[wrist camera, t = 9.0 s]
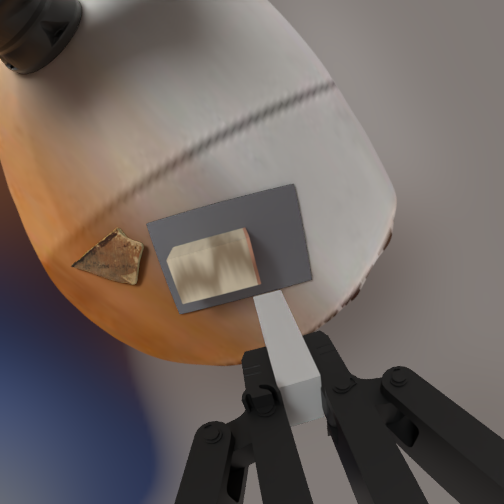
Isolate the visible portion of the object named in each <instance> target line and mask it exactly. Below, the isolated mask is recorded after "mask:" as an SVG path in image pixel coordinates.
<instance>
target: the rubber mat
mask: <svg viewBox="0 0 504 504" xmlns="http://www.w3.org/2000/svg"><path fill="white" fill-rule="evenodd" d="M146 225H147V228H148V231H149V234H150V237H151V240H152V243H153V245H154V248H155V251H156V254H157V257H158V260H159V262H160V265H161V268H162V271H163V273H164V276H165V278H166V281H167V284H168V286H169V289H170V291H171V294H172V296H173V299H174V301H175V304H176V306H177V309H178V311H179V314H183V313H188V312H192V311H196V310H200V309H204V308H208V307H212V306H216V305H220V304H224V303H228V302H232V301H236V300H240V299H243V298H247V297H251V296H255V295H258V294H262V293H266V292H269V291H273V290H277V289H280V288H284V287H287V286H291V285H294V284H298V283H301V282H305V281H308V280H312V276H311V270H310V264H309V258H308V253H307V247H306V242H305V236H304V231H303V225H302V220H301V215H300V210H299V205H298V200H297V195H296V190H295V186H294V184H291V185H286V186H282V187H278V188H274V189H269V190H265V191H261V192H257V193H253V194H249V195H245V196H241V197H237V198H234V199H230V200H226V201H222V202H219V203H215V204H211V205H208V206H204V207H201V208H197V209H194V210H190V211H187V212H183V213H180V214H176V215H173V216H170V217H166V218H163V219H160V220H157V221H153V222H150V223H147V224H146ZM241 228H246V230H247V233H248V235H249V238H250V242H251V245H252V249H253V253H254V257H255V261H256V265H257V269H258V273H259V277H260V281H261V284H259V285H255V286H252V287H248V288H244V289H241V290H237V291H233V292H229V293H225V294H221V295H217V296H214V297H210V298H206V299H202V300H198V301H194V302H190V303H186V304H183V303H182V301H181V298H180V296H179V293H178V290H177V288H176V285H175V283H174V280H173V277H172V274H171V272H170V269H169V266H168V263H167V261H166V260H167V258H168V256H169V254H170V252H171V250H172V248H173V247H176V246H179V245H183V244H186V243H190V242H193V241H197V240H201V239H204V238H208V237H212V236H215V235H219V234H223V233H226V232H230V231H234V230H237V229H241Z"/></svg>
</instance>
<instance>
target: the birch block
mask: <svg viewBox="0 0 504 504" xmlns="http://www.w3.org/2000/svg"><path fill="white" fill-rule="evenodd" d="M166 261H167V263H168V266H169V269H170V272H171V274H172V277H173V280H174V283H175V285H176V288H177V290H178V293H179V296H180V298H181V301H182V303H183V304H186V303H190V302H194V301H198V300H202V299H206V298H210V297H214V296H217V295H221V294H225V293H229V292H233V291H237V290H241V289H244V288H248V287H252V286H255V285H259V284H261V281H260V277H259V273H258V269H257V265H256V261H255V257H254V253H253V249H252V245H251V242H250V238H249V235H248V233H247V230H246V228H241V229H237V230H234V231H230V232H226V233H223V234H219V235H215V236H212V237H208V238H204V239H201V240H197V241H193V242H190V243H186V244H183V245H179V246H176V247H173V248H172V250H171V252H170V254H169V256H168V258H167V260H166Z"/></svg>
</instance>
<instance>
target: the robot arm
mask: <svg viewBox="0 0 504 504" xmlns="http://www.w3.org/2000/svg"><path fill="white" fill-rule="evenodd" d="M81 12H82V10H81V5H80V2H79V1H78V0H0V59H1V60H2V62H3V63H4V64H5V65H6V66H7V67H8V68H9V69H10V70H12V71H14V72H17V73H21V74H28V73H32V72H35V71H37V70H39V69H41V68H42V67H44V66H45V65H47V64H48V63H49V62H51V61H52V60H53V59H54V58H55V57H56V56H57V55H58V54H59V53H60V52H61V51H62V50H63V49H64V47H65V46H66V45H67V44H68V42H69V41H70V39H71V38H72V36H73V35H74V33H75V31H76V29H77V27H78V25H79V22H80V18H81ZM253 299H254V302H255V306H256V310H257V314H258V318H259V322H260V326H261V330H262V334H263V337H264V341H265V345H266V347H262V348H258V349H254V350H250V351H246V352H245V353H244V355H243V358H242V360H241V361H242V368H243V374H244V381H245V388H246V390H245V391H244V393H243V395H242V402H243V404H244V407H245V409H246V410H245V412H244V413H243V414H242V415H241V416H240V417H238V418H237V419H235V420H233V421H231V422H229V423H227V424H225V423H223V422H218V421H213V422H208V423H206V424H204V425H202V426H201V427H200V428H199V429H198V430H197V432H196V434H195V436H194V440H193V443H192V446H191V450H190V453H189V457H188V460H187V463H186V467H185V470H184V474H183V477H182V481H181V483H180V487H179V490H178V494H177V497H176V500H175V504H243V500H244V494H245V487H246V481H247V474H248V467H249V465H250V464H252V463H254V462H256V468H257V474H258V479H259V485H260V490H261V495H262V501H263V504H313V501H312V498H311V495H310V491H309V488H308V485H307V481H306V478H305V475H304V472H303V468H302V465H301V461H300V458H299V454H298V451H297V448H296V444H295V441H294V438H293V434H292V431H291V427H292V426H296V425H299V424H303V423H306V422H309V421H313V420H316V419H319V418H322V417H324V414H325V416H326V418H327V430H328V436H330V435H331V437H332V440H333V442H334V445H335V447H336V450H337V452H338V455H339V457H340V460H341V462H342V465H343V467H344V470H345V472H346V475H347V477H348V480H349V482H350V485H351V487H352V490H353V493H354V495H355V497H356V500H357V502H358V504H428V502H427V500H426V498H425V496H424V494H423V492H422V490H421V489H420V487H419V485H418V483H417V481H416V479H415V477H414V475H413V474H412V472H411V470H410V468H409V466H408V464H407V463H406V461H405V459H404V457H403V455H402V454H401V452H400V450H399V448H398V446H397V445H396V443H397V444H398V445H399V446H400V447H401V448H402V449H403V450H404V451H405V452H406V453H407V454H408V455H409V456H410V457H411V458H412V459H413V460H414V461H415V462H416V463H417V464H418V465H419V466H421V468H422V469H423V470H424V471H426V472H427V473H428V474H429V475H430V476H431V477H432V478H433V479H434V480H435V481H436V482H437V483H438V484H439V485H440V486H442V487H443V488H444V489H445V490H446V491H447V492H448V493H449V494H450V495H451V496H452V497H454V498H455V499H456V500H457V501H458V502H459V503H460V504H504V439H502V438H501V437H500V436H498V435H497V434H496V433H494V432H493V431H492V430H490V429H489V428H487V427H486V426H485V425H484V424H482V423H481V422H480V421H478V420H477V419H476V418H474V417H473V416H472V415H470V414H469V413H468V412H466V411H465V410H464V409H462V408H461V407H460V406H458V405H457V404H456V403H454V402H453V401H452V400H451V399H449V398H448V397H447V396H445V395H444V394H442V393H441V392H440V391H439V390H437V389H436V388H435V387H433V386H432V385H431V384H429V383H428V382H427V381H425V380H424V379H423V378H421V377H420V376H419V375H417V374H416V373H415V372H413V371H412V370H411V369H409V368H407V367H401V366H397V367H392V368H391V369H388V370H387V371H386V372H385V373H384V374H383V377H382V378H375V379H360V378H357V377H356V376H354V375H352V374H351V373H350V372H349V371H348V369H347V367H346V366H345V364H344V362H343V360H342V359H341V357H340V355H339V354H338V352H337V350H336V349H335V347H334V345H333V344H332V342H331V340H330V338H329V337H328V335H326V334H324V333H323V332H321V331H317V332H313V333H310V334H307V335H303V336H302V335H301V332H300V330H299V328H298V326H297V324H296V322H295V320H294V317H293V315H292V313H291V311H290V309H289V307H288V305H287V302H286V300H285V298H284V296H283V294H282V292H281V290H278V291H274V292H270V293H267V294H263V295H259V296H255V297H253Z"/></svg>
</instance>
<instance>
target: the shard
mask: <svg viewBox="0 0 504 504" xmlns="http://www.w3.org/2000/svg"><path fill="white" fill-rule="evenodd" d="M143 249H144V247H143V243H140V242H137V241H134V240H131V239H129V238H128V237H127V236H126V235H125V234H124V233H123V232H122V231H121V229H119V228H116V229H115V230H114V231H113V232H112V233H110V234H109V235H108V236H106V237H105V238H104V239H103V240H101V241H100V242H99V243H98V244H97V245H95V246H94V247H92V248H91V249H90V250H89V251H87V252H86V253H85V254H84V255H83V256H82V258H80V259H79V260H78V261H77V262H75V263H74V264H72V266H71V267H75V268H78V269H80V270H86V271H88V272H91V273H93V274H96V275H98V276H101V277H105V278H107V279H110V280H114V281H117V282H122V283H124V282H125V283H128V284H132V285H133V284H136V283H137V281H138V272H139V263H140V259H141V256H142V251H143Z"/></svg>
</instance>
